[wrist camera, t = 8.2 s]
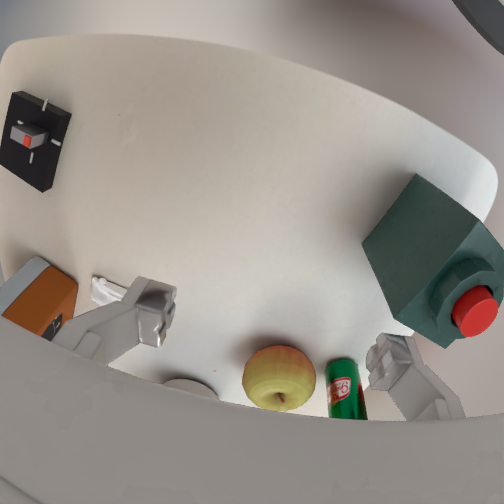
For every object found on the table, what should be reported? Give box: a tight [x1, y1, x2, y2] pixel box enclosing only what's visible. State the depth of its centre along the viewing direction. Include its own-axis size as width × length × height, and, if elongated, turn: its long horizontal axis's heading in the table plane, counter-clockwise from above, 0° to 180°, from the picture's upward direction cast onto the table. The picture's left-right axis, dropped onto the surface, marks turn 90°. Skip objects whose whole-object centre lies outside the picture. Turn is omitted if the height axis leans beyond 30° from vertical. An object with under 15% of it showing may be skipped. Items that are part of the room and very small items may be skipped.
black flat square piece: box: [0, 91, 72, 193], centre depth 27 cm, size 11×11×2 cm
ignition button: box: [452, 285, 498, 337], centre depth 17 cm, size 4×4×2 cm
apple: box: [242, 345, 316, 411], centre depth 38 cm, size 10×10×8 cm
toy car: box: [91, 277, 128, 306], centre depth 37 cm, size 5×8×2 cm, turn 69°
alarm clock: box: [0, 257, 78, 342], centre depth 32 cm, size 18×9×21 cm, turn 149°
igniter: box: [362, 174, 504, 349], centre depth 24 cm, size 10×8×14 cm
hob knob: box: [10, 122, 49, 149], centre depth 24 cm, size 4×1×3 cm, turn 61°
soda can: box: [325, 359, 368, 420], centre depth 36 cm, size 5×5×12 cm
